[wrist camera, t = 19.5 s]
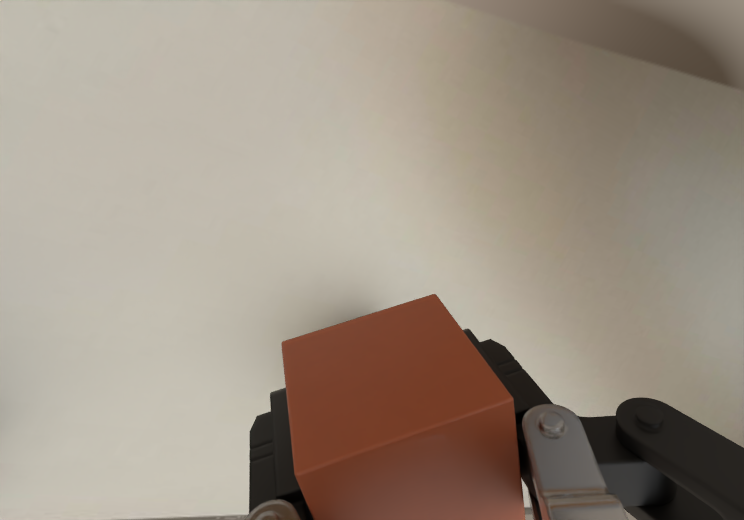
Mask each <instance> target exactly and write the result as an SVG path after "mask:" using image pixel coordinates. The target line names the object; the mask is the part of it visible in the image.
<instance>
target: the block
mask: <svg viewBox="0 0 744 520" xmlns="http://www.w3.org/2000/svg"><path fill="white" fill-rule="evenodd" d="M282 354H283V364H284V374H285V384H286V394H287V404H288V414H289V424H290V434H291V444H292V454H293V464H294V474H295V477H296V479H297V482H298V484H299V486H300V489H301V491H302V493H303V496H304V498H305V500H306V503H307V505H308V507H309V510H310V512H311V514H312V517H313V519H314V520H525V512H524V501H523V491H522V481H521V471H520V461H519V451H518V441H517V431H516V420H515V410H514V400H513V397H512V396H511V395H510V393H509V392H508V391H507V389H506V388H505V386H504V385H503V384H502V382H501V381H500V380H499V378H498V377H497V376H496V374H495V373H494V372H493V370H492V369H491V368H490V366H489V365H488V364H487V362H486V361H485V360H484V358H483V357H482V356H481V354H480V353H479V352H478V350H477V349H476V348H475V346H474V345H473V344H472V342H471V341H470V340H469V338H468V337H467V336H466V334H465V333H464V332H463V330H462V329H461V328H460V326H459V325H458V324H457V322H456V321H455V319H454V318H453V317H452V315H451V314H450V313H449V311H448V310H447V309H446V307H445V306H444V305H443V303H442V302H441V301H440V299H439V298H438V297H437V295H436V294H432V295H429V296H426V297H423V298H419V299H416V300H413V301H410V302H407V303H403V304H400V305H397V306H394V307H391V308H388V309H384V310H381V311H378V312H375V313H372V314H369V315H365V316H362V317H359V318H356V319H353V320H350V321H346V322H343V323H340V324H337V325H334V326H331V327H327V328H324V329H321V330H318V331H315V332H312V333H308V334H305V335H302V336H299V337H296V338H292V339H289V340H286V341H283V342H282Z"/></svg>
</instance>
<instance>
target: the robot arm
mask: <svg viewBox="0 0 744 520" xmlns="http://www.w3.org/2000/svg"><path fill="white" fill-rule="evenodd" d="M463 332H464V333H465V334H466V336H467V337H468V338H469V340H470V341H471V342H472V344H473V345H474V346H475V348H476V349H477V350H478V352H479V353H480V354H481V356H482V357H483V358H484V360H485V361H486V362H487V364H488V365H489V366H490V368H491V369H492V370H493V372H494V373H495V374H496V376H497V377H498V378H499V380H500V381H501V382H502V384H503V385H504V386H505V388H506V389H507V391H508V392H509V393H510V395H511V396H512V397H513V400H514V410H515V420H516V431H517V441H518V451H519V461H520V471H521V478H522V479H523V481H524V483H525V484H526V486H527V487H528V496H529V502H530V506H531V510H532V515H533V519H534V520H628V517H627V515H626V513H625V510H626V511H627V512H628V513H630V514H631V515H632V516H634V517H635V518H636V519H637V520H744V448H743V447H741V446H739V445H737V444H736V443H734V442H732V441H730V440H729V439H727V438H725V437H723V436H722V435H720V434H718V433H716V432H715V431H713V430H711V429H709V428H708V427H706V426H704V425H702V424H701V423H699V422H697V421H695V420H694V419H692V418H690V417H688V416H687V415H685V414H683V413H681V412H680V411H678V410H676V409H674V408H673V407H671V406H669V405H667V404H665V403H663V402H661V401H658V400H655V399H650V398H632V399H629V400H626V401H624V402H623V403H621V404H620V405H619V407H618V408H617V411H616V416H604V417H580V416H577V415H576V414H575V413H573V412H572V411H571V410H569V409H567V408H565V407H563V406H560V405H555V404H553V403H552V402H551V401H550V399H549V398H548V397H547V396H546V395H545V394H544V392H543V391H542V390H541V389H540V388H539V386H538V385H537V384H536V383H535V382H534V381H533V379H532V378H531V377H530V376H529V375H528V373H527V372H526V371H525V370H524V369H522V366H521V365H520V364H519V363H518V362H517V360H515V359H514V357H513V356H512V355H511V353H510V352H509V351H508V350H507V349H506V347H504V346H503V345H501V344H499V343H497V342H495V341H493V340H491V339H489V340H486V341H483V342H479V341H478V339H477V338H476V337H475V336H474V334H473V333H472V332H471V331H470V330H469V329H465V330H463ZM270 401H271V412H268V413H265V414H262V415H259V416H257V417H256V419H255V422H254V424H253V426H252V428H251V430H250V497H249V514H248V515H247V517H246V518H245V520H314V519H313V517H312V514H311V512H310V510H309V507H308V505H307V503H306V500H305V498H304V496H303V493H302V491H301V489H300V486H299V484H298V482H297V479H296V477H295V474H294V464H293V454H292V444H291V434H290V424H289V414H288V404H287V394H286V388H283V389H280V390H277V391H274V392H271V393H270ZM624 509H625V510H624Z"/></svg>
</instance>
